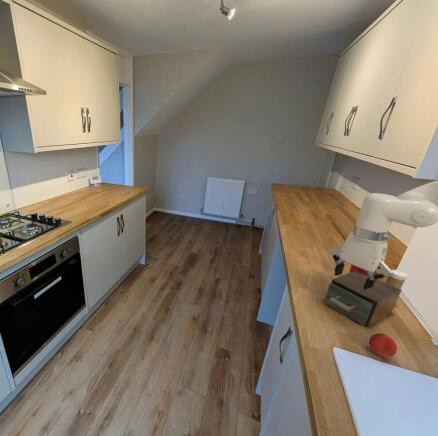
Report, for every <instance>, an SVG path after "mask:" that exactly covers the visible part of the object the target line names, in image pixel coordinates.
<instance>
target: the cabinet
mask: <svg viewBox="0 0 438 436" xmlns="http://www.w3.org/2000/svg"><path fill="white" fill-rule="evenodd" d="M349 272H350V271H349ZM349 272H347V273H345V274H343V275H342V274H341V275H339V276H336V277H335V278H332V279H331V282H330V284H331V283H333V284H335V285H336V284H338V285H340V286H342V287H344V288H346V289H348V290H350V291H352V292H354V293H356V294H358V295H360V296H362V297H364V298H366V299H368V300H370V301H371V302H373V303H374V304H373V306H372V309H371V311H370V314H369V316H368V318H367V321H366V323H365V325H364V326H365V327H366V328H367V327H370V326H372V325H373V324H375V323H378V322H379V321H380V320H382V319H384V318H386V317H388V316H389V315H391V314H392V313H393V310H394V308H395V306H396V304H397V301H398V299H399V297H400V295H401V293H402V288H401V289H398V288H396V287H394V286H391V285H389V284H387V283H386V282H384V281H382V280H380V279H376V281H375V283H374V286H373V287H372V288H369V289H367V290H365V289H364V288H363V287H364V285H365V282H366V279H367V278H369V276H368V275H366V274H364V273H361V272H359V271H357V270H355V271H353V272H350V273H349Z"/></svg>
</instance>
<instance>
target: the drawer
mask: <svg viewBox="0 0 438 436" xmlns="http://www.w3.org/2000/svg"><path fill="white" fill-rule="evenodd" d="M323 303H324V304H326V305H328V306H329V307H331V308H333V309H335V310H336V311H338V312H340V313H342V314H344V316H347V317H349V318H350V319H351V320H354V321H355V322H357V323H358V324H360V325H362V326H365V323H366V321H367V318H368V316H369V314H370V311H371V309H372V306H373V304H374V303H373V302H371V301H370V300H368V299H366V298H364V297H362V296H360V295H358V294H356V293H354V292H352V291H350V290H348V289H346V288H344V287H342V286H340V285H338V284H336V285H335V284H333V283H331V282H330V283H329V285H328V289H327V292H326V294H325V297H324V299H323Z"/></svg>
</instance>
